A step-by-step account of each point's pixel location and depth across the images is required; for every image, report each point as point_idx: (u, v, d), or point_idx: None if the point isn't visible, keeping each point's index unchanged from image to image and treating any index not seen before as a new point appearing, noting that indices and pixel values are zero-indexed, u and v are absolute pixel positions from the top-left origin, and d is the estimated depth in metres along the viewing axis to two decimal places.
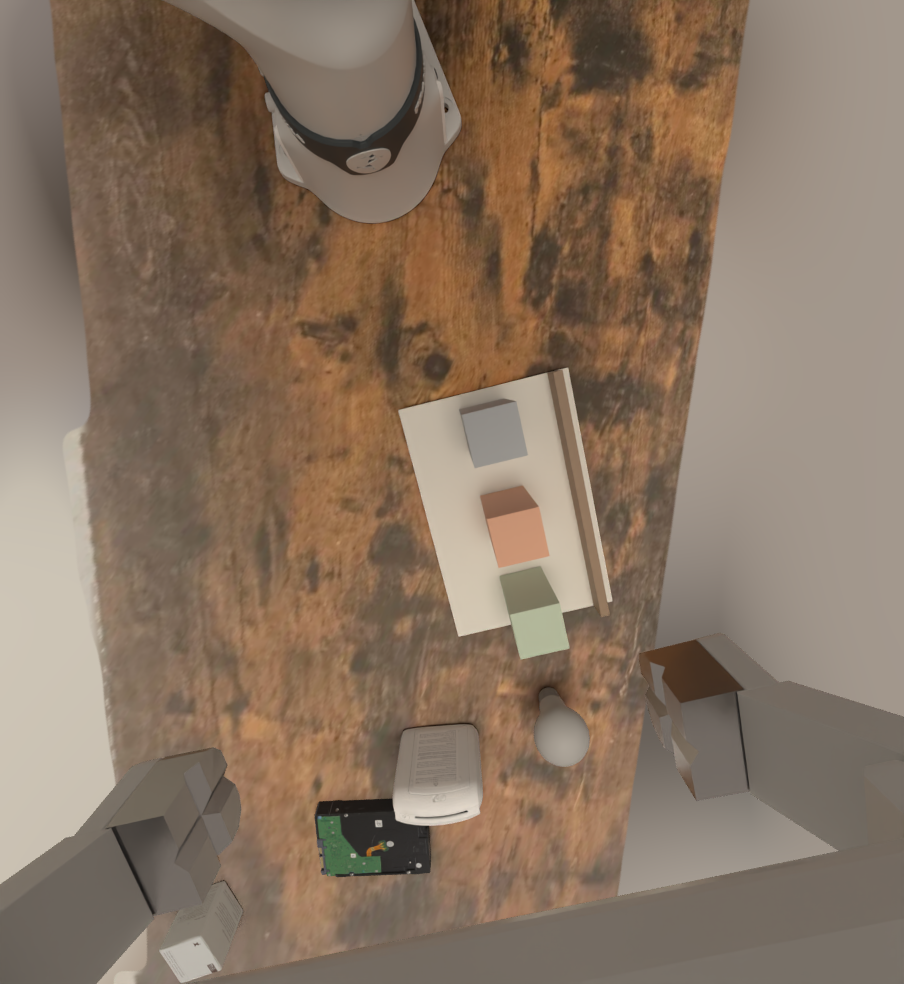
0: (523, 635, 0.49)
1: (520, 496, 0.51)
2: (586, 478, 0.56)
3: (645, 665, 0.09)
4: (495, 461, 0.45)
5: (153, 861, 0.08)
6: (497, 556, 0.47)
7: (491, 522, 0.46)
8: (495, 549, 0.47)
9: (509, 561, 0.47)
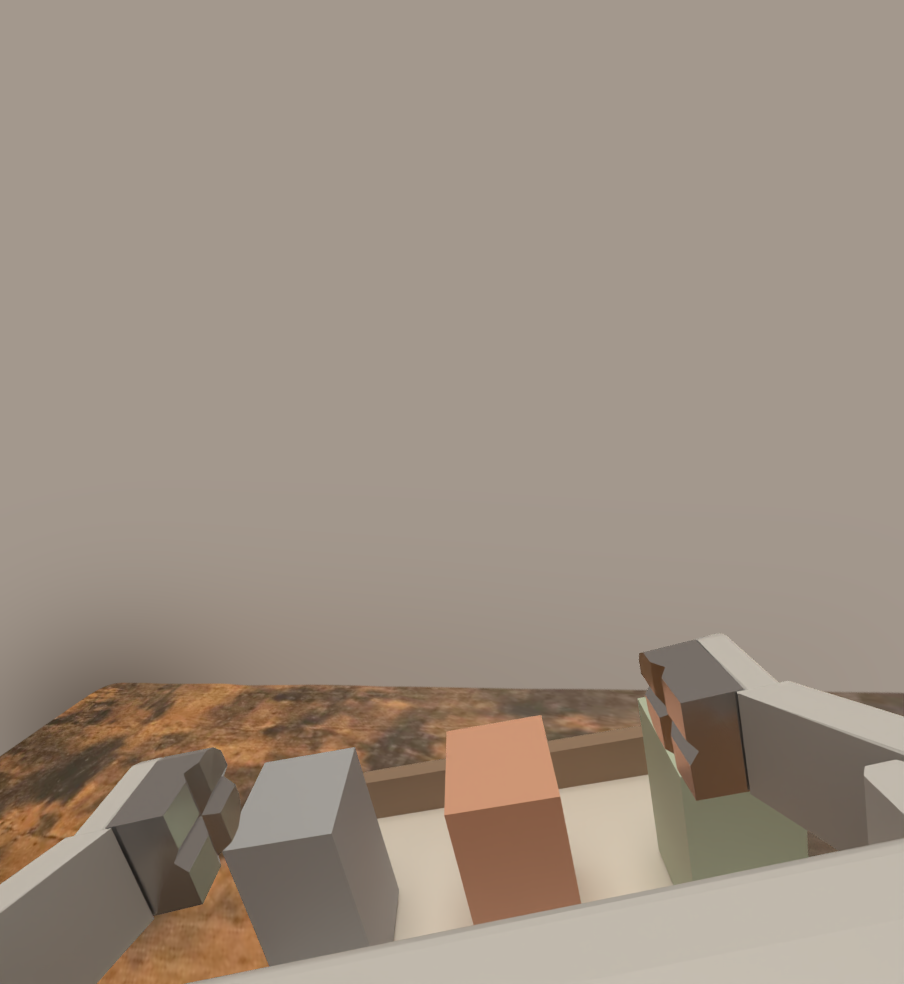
0: None
1: None
2: None
3: (645, 665, 0.09)
4: (338, 795, 0.23)
5: (153, 861, 0.08)
6: (532, 797, 0.21)
7: (453, 806, 0.21)
8: (515, 801, 0.21)
9: (546, 776, 0.22)
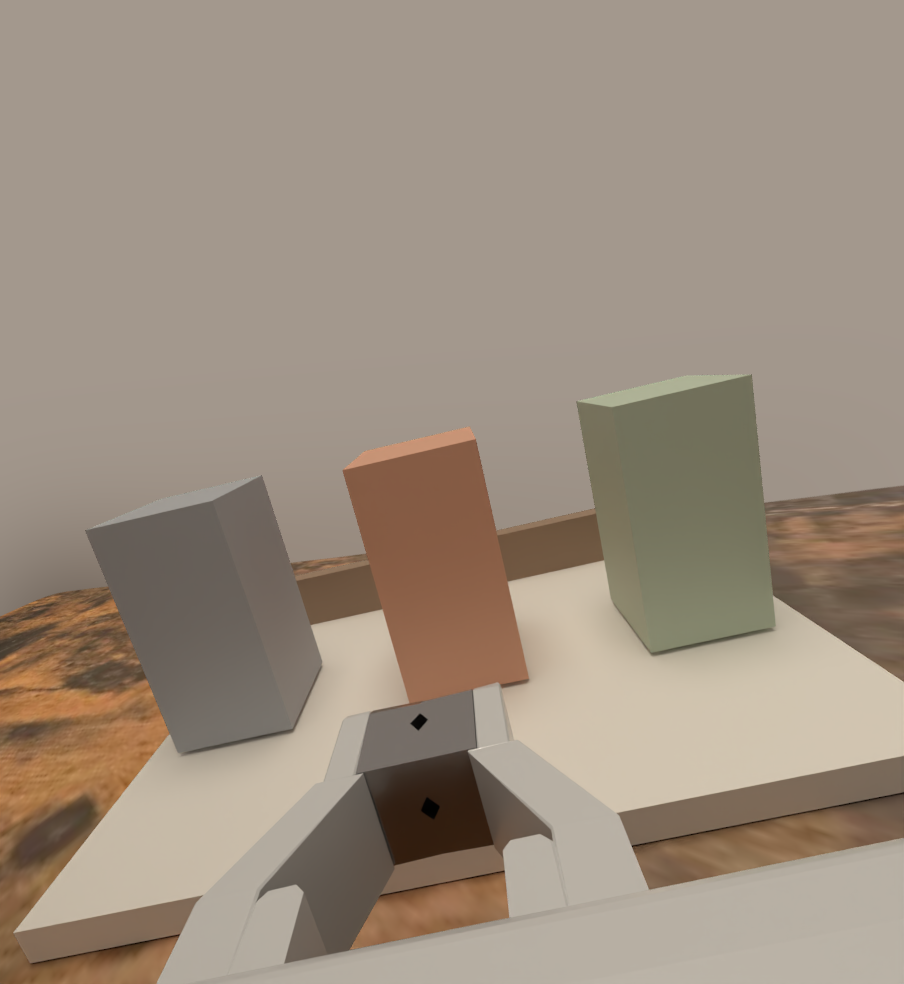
0: (669, 390, 0.18)
1: None
2: None
3: None
4: (231, 490, 0.20)
5: (400, 808, 0.08)
6: (444, 445, 0.18)
7: (354, 465, 0.18)
8: (425, 451, 0.18)
9: (464, 437, 0.19)
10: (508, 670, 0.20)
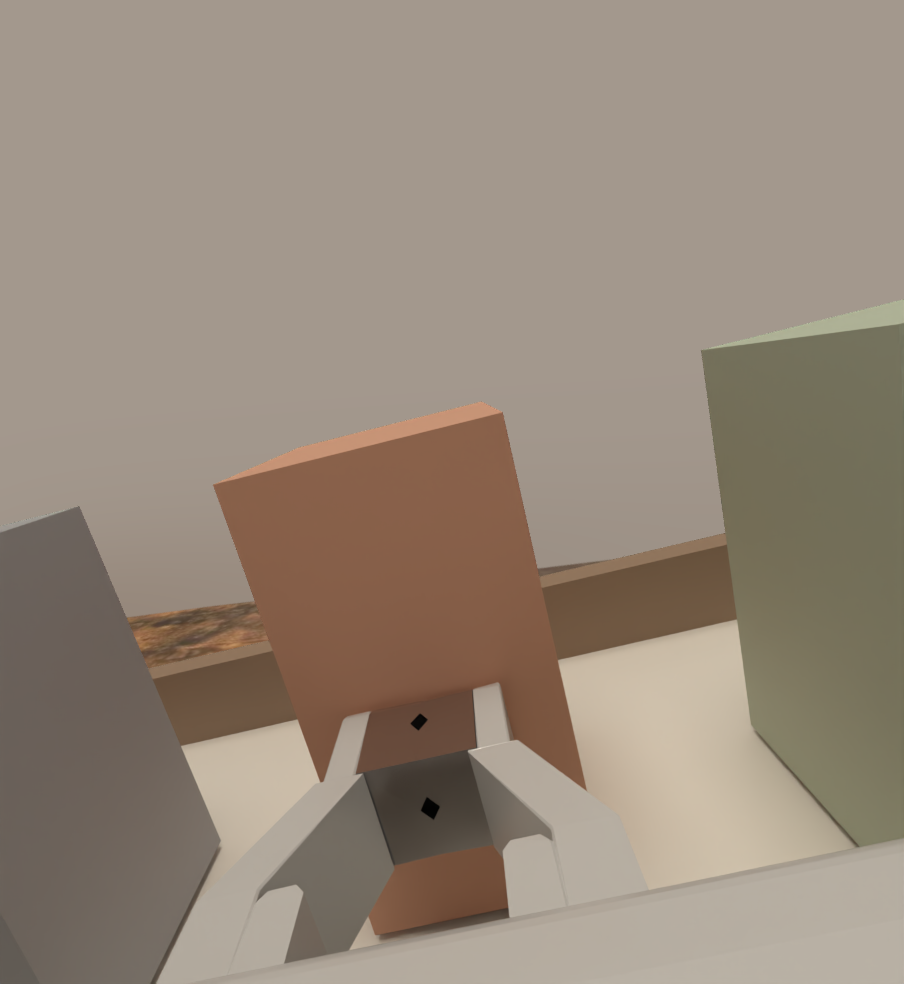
0: None
1: None
2: None
3: None
4: None
5: (400, 808, 0.08)
6: (433, 428, 0.08)
7: (244, 474, 0.09)
8: (392, 440, 0.08)
9: (475, 413, 0.09)
10: None
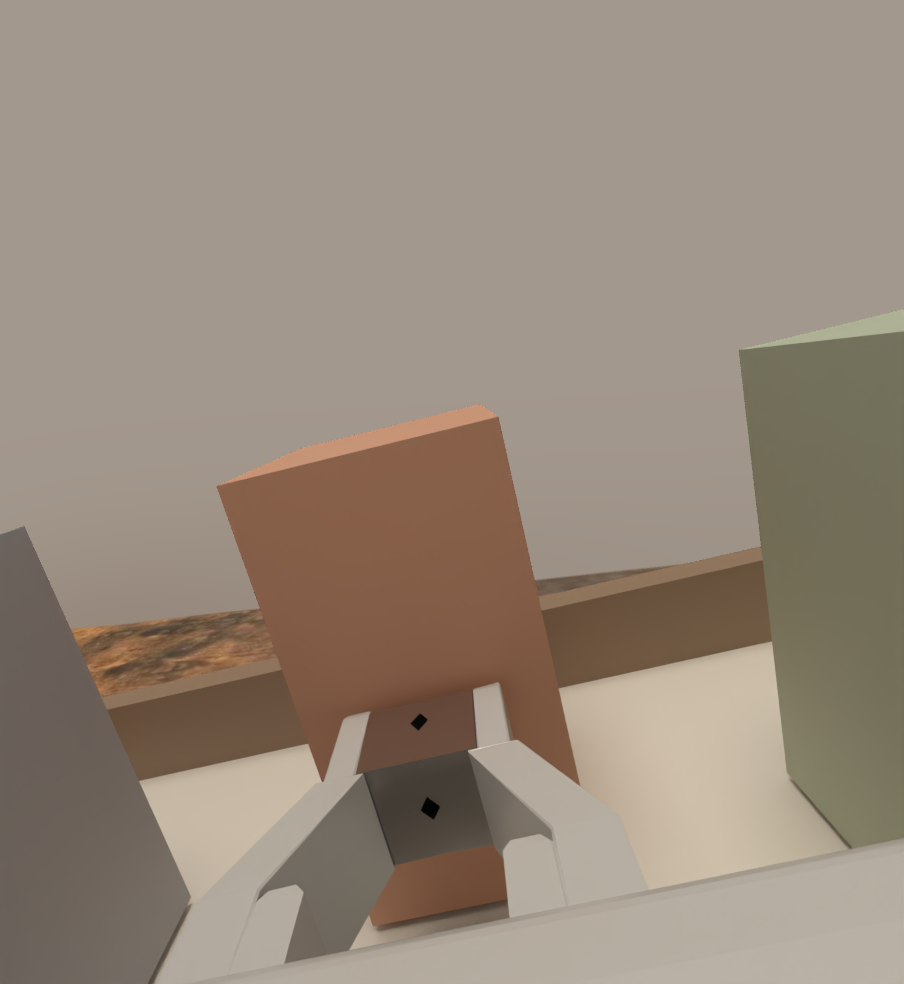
0: None
1: None
2: None
3: None
4: None
5: (399, 808, 0.08)
6: (430, 432, 0.09)
7: (247, 476, 0.09)
8: (390, 443, 0.09)
9: (472, 417, 0.09)
10: None
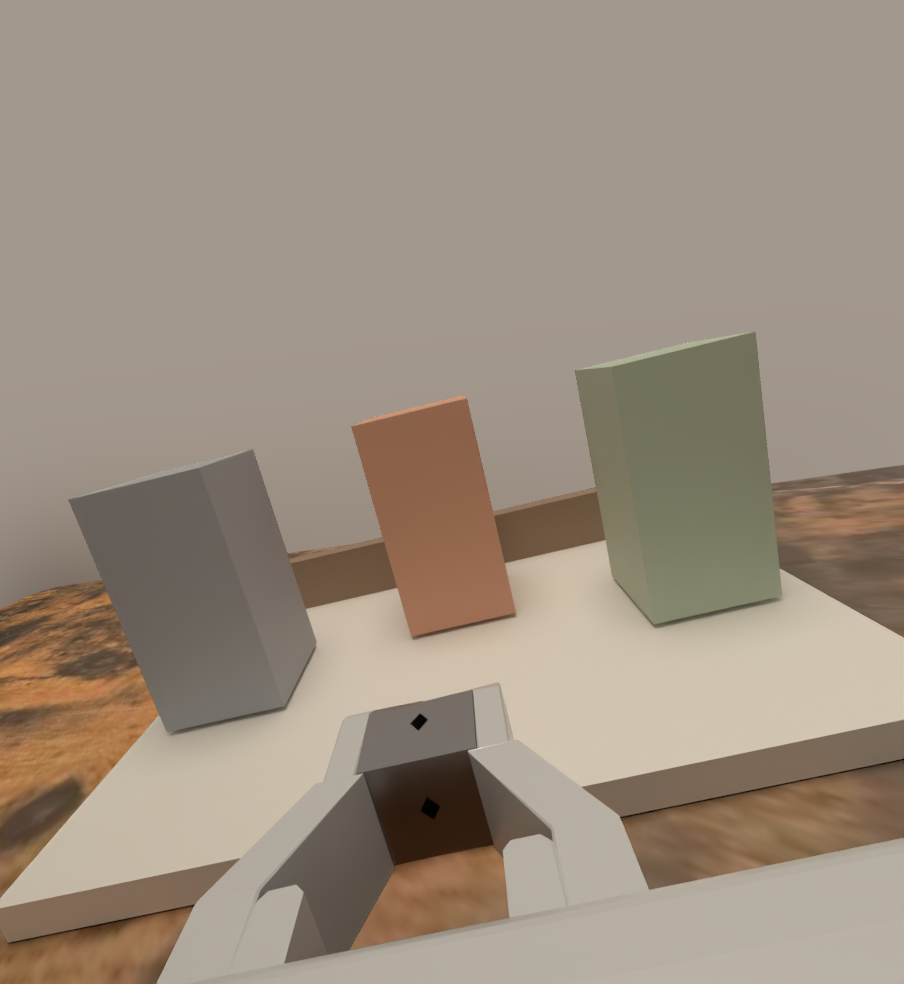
0: (670, 351, 0.18)
1: None
2: None
3: None
4: (220, 460, 0.20)
5: (400, 808, 0.08)
6: (439, 404, 0.21)
7: (362, 423, 0.21)
8: (422, 409, 0.21)
9: (457, 399, 0.22)
10: (497, 605, 0.23)
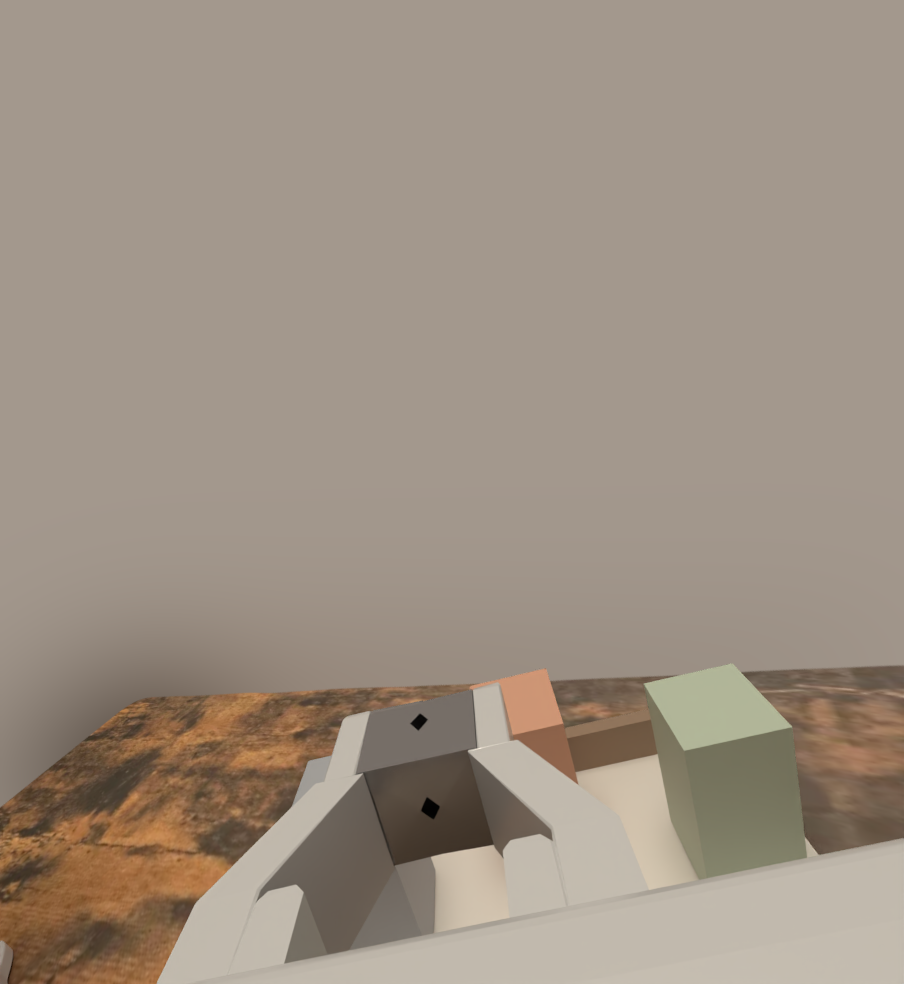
0: (726, 725, 0.24)
1: None
2: None
3: None
4: None
5: (400, 808, 0.08)
6: (541, 726, 0.27)
7: None
8: (528, 730, 0.27)
9: (551, 710, 0.28)
10: None
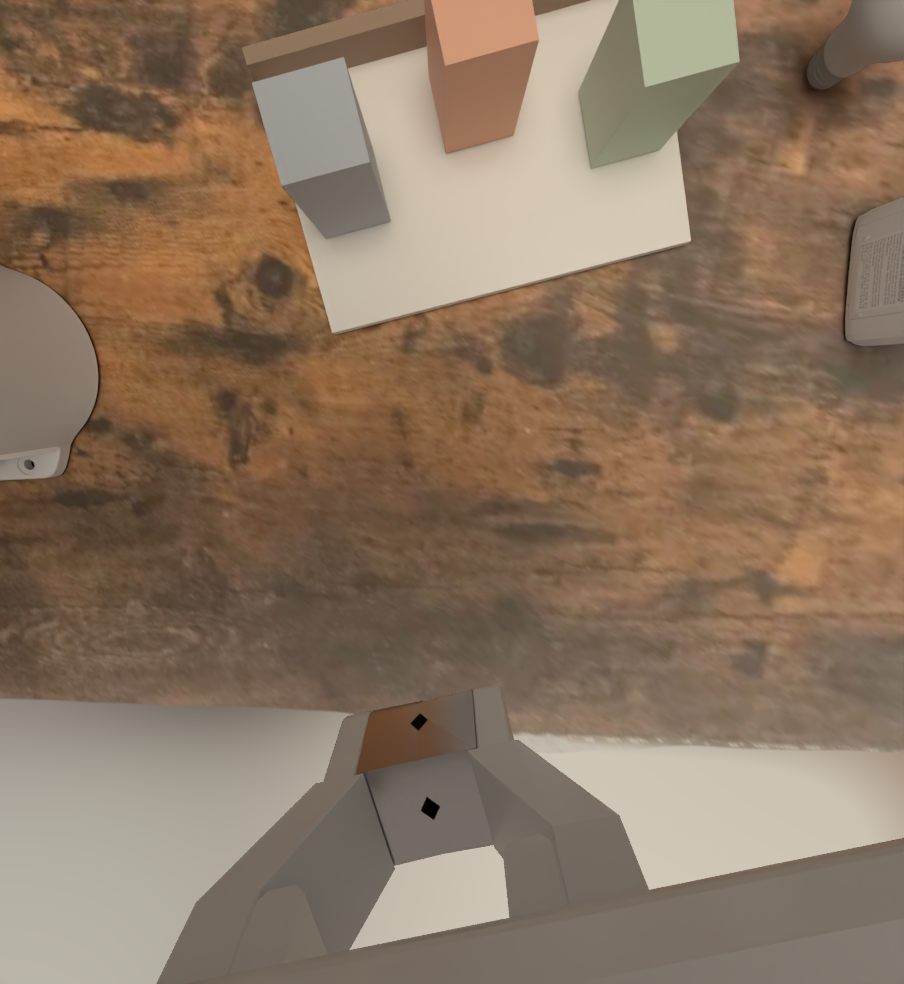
0: (689, 55, 0.26)
1: (429, 46, 0.30)
2: None
3: None
4: (357, 122, 0.26)
5: (400, 808, 0.08)
6: (516, 42, 0.25)
7: (451, 55, 0.26)
8: (502, 47, 0.26)
9: (527, 16, 0.25)
10: (504, 134, 0.35)
